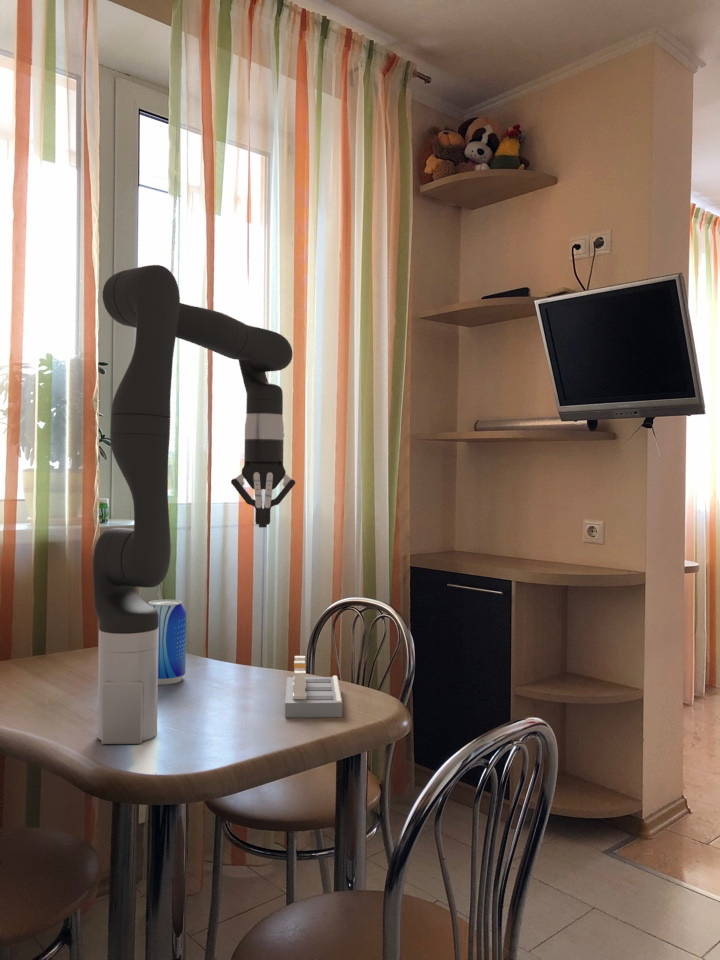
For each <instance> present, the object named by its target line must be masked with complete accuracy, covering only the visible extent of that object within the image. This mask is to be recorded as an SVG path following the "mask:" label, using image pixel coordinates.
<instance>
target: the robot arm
mask: <svg viewBox="0 0 720 960" xmlns="http://www.w3.org/2000/svg"><path fill="white" fill-rule="evenodd" d="M180 295H181V294H180V289H179V286H178V282H177V280H176V277H175V275H174V274H173V273H172V271H170V270H169V269H168V268H167V267H165V266H163V265H160V264H151V265H149V264H148V265H143V266H139V267H135V268H134V267H133V268H130V269H124V270H122V271H119V272H116V273H114V274H112V275H111V276H110V277H109V278H108V279H107V280H106V281H105V284H104V285H103V289H102V302H103V305H104V309H105V310H106V312H107V314H108V315H109V316H110V318H112V319H113V320H114V321H116V322H117V323H119V324H120V325H122V326H126V327H131V328H135V329H136V330H135V332H136V333H135V342H134V343H135V344H134V350H133V354H132V357H131V360H130V362H129V365H128V367H127V369H126V371H125V373H124V374H123V377H122V379H121V381H120V383H119V384H118V387H117V390H116V391H115V395H114V397H113V400H112V403H111V404H112V405H111V412H110V433H109V434H110V436H109V438H110V441H109V442H110V448H111V451H112V455H113V457H114V460H115V462H116V463H117V466H118V468H119V470H120V472H121V474H122V476H123V478H124V480H125V481H126V484H127V486H128V488H129V491H130V494H131V497H132V502H133V503H132V504H133V519H134V521H133V528H127V527H112V528H109V529H106V530H105V531H103V532H102V533H101V534H100V535H99V537H98V538H97V540H96V543H95V547H94V548H93V549H94V550H93V557H92V578H93V580H92V581H93V601H94V602H93V603H94V610H95V611H94V612H95V614H96V616H97V619H98V662H97V663H98V668H97V669H98V670H97V671H98V673H97V674H98V676H97V739H98V740H99V741H101V742H100V743H101V745H122V744H127V745H128V744H129V745H130V744H133V745H134V744H136V745H137V744H142V743H144V742H145V741H147V740H150V739H153V738H155V736H157V734H158V710H159V709H158V700H159V699H158V697H159V696H158V693H159V690H158V689H159V687H158V686H159V685H158V631H159V627H158V626H159V615H158V612H157V610H156V609H155V608H154V607H152V606H150V605H149V603H147V602H146V601H144V600H143V598H141V596H140V595H139V593H138V592H137V588H154V587H158V586H159V585H160V584H162V583H163V581H164V580H165V578H166V577H167V574H168V570H169V568H170V564H171V563H170V562H171V555H172V554H171V553H172V552H171V551H172V550H171V549H172V548H171V545H172V544H171V528H170V527H171V526H170V512H169V511H170V509H169V495H168V492H169V487H168V486H169V453H170V438H171V437H170V435H171V397H172V396H171V394H172V378H173V376H172V375H173V365H174V364H173V362H174V354H175V352H174V351H175V344H176V339H178V340H179V339H180V340H182V341H186V342H189V343H191V344H195V345H197V346H199V347H202V348H205V349H207V350H208V351H211V352H214V353H216V354H219V355H221V356H223V357H226V358H227V359H228V358H229V359H233V360H238V366H239V367H240V368H239V369H240V373H241V376H242V380H243V384H244V385H243V386H244V389H245V391H246V402H245V403H246V405H245V406H246V412H245V414H246V416H245V423H244V457H243V458H244V460H243V461H244V462H243V467H242V469H241V473H240V474H239V475H238V476H237V477H235V478H232V479H231V481H230V483H231V485H233V487H234V489H235V490H236V491H237V493H238V494H239V495H240V497H241V498H242V499H243V500H244V502H245V503H246V504H247V505H250V506H251V507H254V508H255V522H254V523H255V525H258V529H259V528H268V527H267V526H268V525H270V524H271V509H272V507H274V506H278V505H280V504H281V502H282V501H283V500H284V498H285V497H286V496H287V494H288V493H290V491H291V490H292V488H293V487H294V486H295V485H296V480H295V479H293V478H291V477H290V476H289V475H288V474H287V473H286V469H285V467H284V438H285V433H284V432H285V431H284V419H283V418H284V417H283V412H284V411H283V409H284V407H283V406H284V404H283V403H284V402H283V401H284V393H283V388H282V387H281V386H280V385H277V384H273V383H271V382H270V383H269V381H268V377H267V375H266V374H267V373H266V372H269V373H270V372H278V371H282V370H284V369H286V368H287V367H288V366H289V365H290V364H291V362H292V360H293V349H292V348H293V347H292V345H291V344H290V342H289V341H288V339H287V338H286V337H285V336H284V335H282V334H280V333H278V332H276V331H273V330H270V329H265V328H262V327H257V326H253V325H248V324H246V323H244V322H242V321H240V320H238V319H236V318H234V317H232V316H230V315H228V314H225V313H223V312H219V311H217V310H212V309H208V308H204V307H201V306H200V307H199V306H195V305H190V304H185V303H182V302H181V297H180ZM244 480H245V481H246V482H247V484H248V485H249V486H250V488H251V489H252V490H254V498H252V497H251V495H250V494H249V493H248V491H247V490H246V489H245V487H244V485H245V481H244ZM282 480H283V482H282ZM281 482H282V486H283V489H282V490H281V491H280V492H279V493H278V495H277V496H276V497H275V498H273V499H272V497H273V490H275V489H276V488H277V486H279V484H280V483H281ZM263 490H265V491H264V503H263V493H262V491H263Z"/></svg>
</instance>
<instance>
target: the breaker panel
mask: <svg viewBox="0 0 720 960" xmlns="http://www.w3.org/2000/svg"><path fill="white" fill-rule="evenodd" d="M294 661H305V662H306V656H305V655H294ZM306 673H307V672H306V670H305V671H294V670H293V677H291V676H290V677H288V676H287V677H286V683H285V684H286V686H285V687H286V688H285V699H284V700H285V701H284V702H285V703H284V718H342V717H343V699H342V693H341V688H340V687H341V686H340V682H339V678H338V676H337V675H332V676H307V675H306ZM293 682H294V688H293ZM305 682H306V688H305Z"/></svg>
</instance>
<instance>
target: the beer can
mask: <svg viewBox="0 0 720 960" xmlns="http://www.w3.org/2000/svg"><path fill="white" fill-rule="evenodd" d="M148 604H149V605H150V606H152V607H154V608H155V609H156V610H157V612H158V615H159V626H158V627H159V631H158V686H161V685H163V686H164V685H173V684H177V683H179V682H181V681H182V680H183V677H184V676H185V675H186V668H187V667H186V661H187V659H186V655H187V654H186V653H187V650H186V649H187V648H186V647H187V612H186V610H185V608H184V607H183V604H182V601H181V600H179V599H178V600H177V599H156V600H155V599H154V600H151V601H148Z"/></svg>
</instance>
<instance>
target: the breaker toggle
mask: <svg viewBox="0 0 720 960" xmlns="http://www.w3.org/2000/svg"><path fill="white" fill-rule="evenodd" d="M293 669H294V670H293V672H294V671H306V660H305V661H295V660H294V661H293ZM293 688H294V682H293ZM305 688H306V682H305Z"/></svg>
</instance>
